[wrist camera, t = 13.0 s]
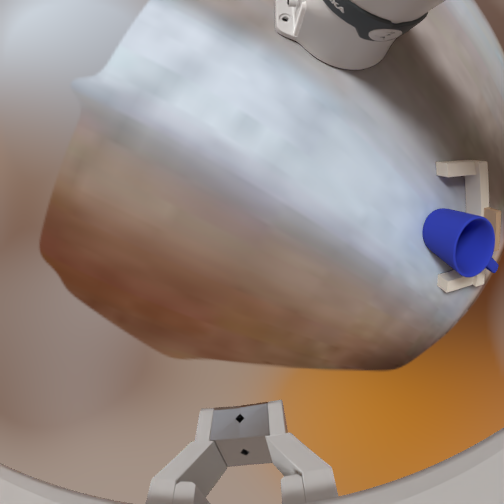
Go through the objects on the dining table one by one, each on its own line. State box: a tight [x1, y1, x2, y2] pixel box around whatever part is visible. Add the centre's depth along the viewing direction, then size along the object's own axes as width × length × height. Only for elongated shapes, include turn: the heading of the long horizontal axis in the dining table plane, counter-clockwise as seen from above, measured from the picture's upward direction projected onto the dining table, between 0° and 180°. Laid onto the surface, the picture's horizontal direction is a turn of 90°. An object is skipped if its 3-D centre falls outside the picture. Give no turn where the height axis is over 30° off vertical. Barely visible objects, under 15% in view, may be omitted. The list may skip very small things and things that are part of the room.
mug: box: [423, 208, 498, 277], centre depth 35 cm, size 8×12×10 cm
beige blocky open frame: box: [436, 160, 501, 293], centre depth 36 cm, size 20×8×7 cm, turn 10°
